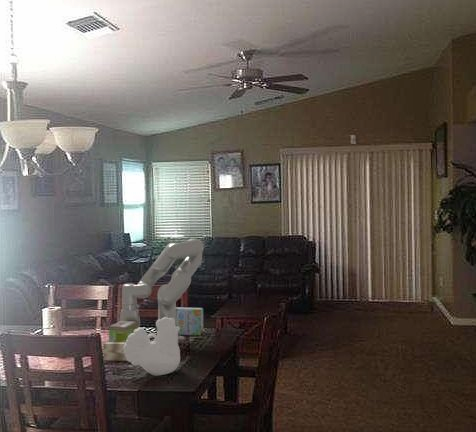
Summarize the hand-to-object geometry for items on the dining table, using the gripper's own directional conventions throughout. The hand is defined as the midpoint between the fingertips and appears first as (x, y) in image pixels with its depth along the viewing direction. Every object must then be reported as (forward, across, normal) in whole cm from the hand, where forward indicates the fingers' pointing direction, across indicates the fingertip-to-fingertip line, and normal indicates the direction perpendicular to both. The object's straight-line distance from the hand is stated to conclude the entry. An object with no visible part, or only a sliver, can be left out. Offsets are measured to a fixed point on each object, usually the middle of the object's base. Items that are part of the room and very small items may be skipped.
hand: (129, 341), depth 307 cm
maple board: (+2, 0, +27) cm, 27 cm away
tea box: (+3, 0, +13) cm, 13 cm away
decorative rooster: (+2, -23, +49) cm, 54 cm away
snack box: (+2, -25, -29) cm, 38 cm away
